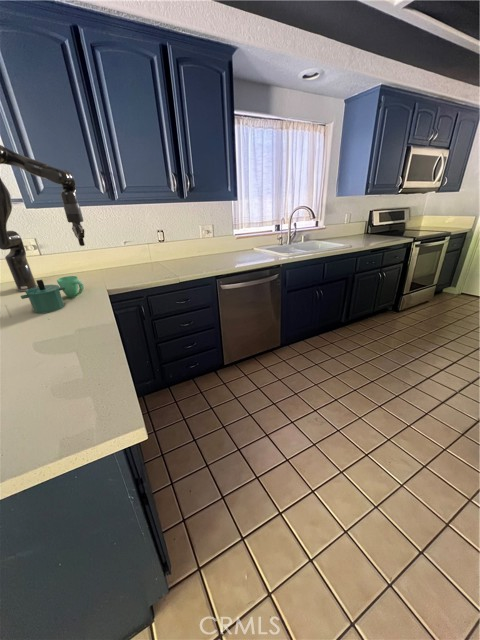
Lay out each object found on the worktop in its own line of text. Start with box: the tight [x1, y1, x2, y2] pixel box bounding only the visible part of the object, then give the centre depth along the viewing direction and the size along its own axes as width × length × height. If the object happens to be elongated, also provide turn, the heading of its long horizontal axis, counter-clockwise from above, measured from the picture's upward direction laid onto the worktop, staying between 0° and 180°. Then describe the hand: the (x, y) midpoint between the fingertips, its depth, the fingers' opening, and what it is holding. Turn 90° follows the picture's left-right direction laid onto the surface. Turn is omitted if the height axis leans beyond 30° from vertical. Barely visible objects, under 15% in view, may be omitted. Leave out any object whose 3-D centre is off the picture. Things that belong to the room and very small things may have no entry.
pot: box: [20, 286, 65, 314], centre depth 130 cm, size 13×18×10 cm
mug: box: [56, 275, 85, 298], centre depth 145 cm, size 15×10×10 cm
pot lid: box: [24, 279, 60, 295], centre depth 127 cm, size 14×14×6 cm
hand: (82, 245), depth 149 cm, fingers closed
